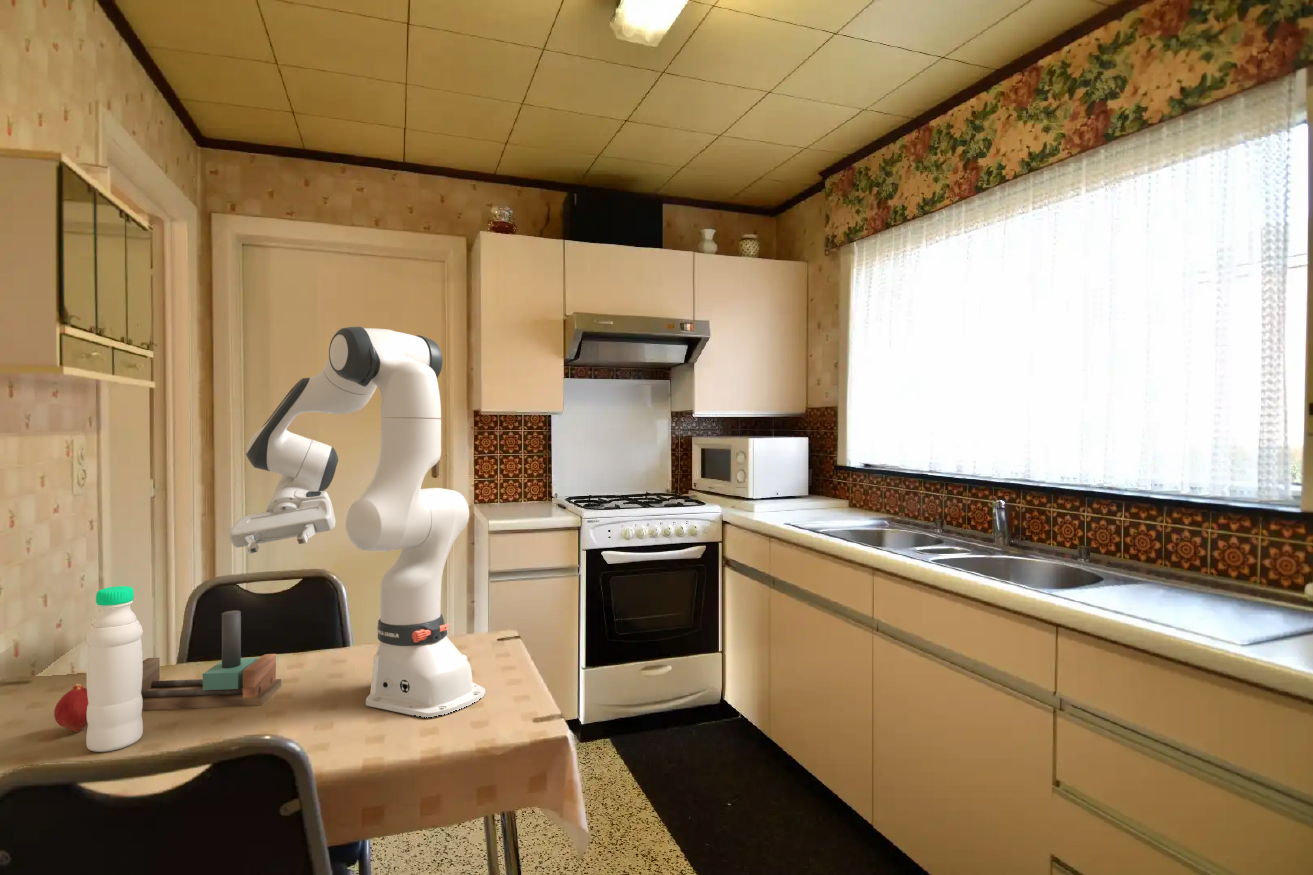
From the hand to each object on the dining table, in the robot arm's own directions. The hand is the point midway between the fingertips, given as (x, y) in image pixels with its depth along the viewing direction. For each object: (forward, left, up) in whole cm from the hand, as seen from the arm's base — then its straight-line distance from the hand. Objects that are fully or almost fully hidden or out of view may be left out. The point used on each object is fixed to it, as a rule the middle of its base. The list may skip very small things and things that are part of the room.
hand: (277, 545), depth 139 cm
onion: (+1, +32, -27) cm, 42 cm away
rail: (-2, +15, -26) cm, 30 cm away
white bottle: (-10, +31, -27) cm, 42 cm away
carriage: (-6, +11, -23) cm, 27 cm away
